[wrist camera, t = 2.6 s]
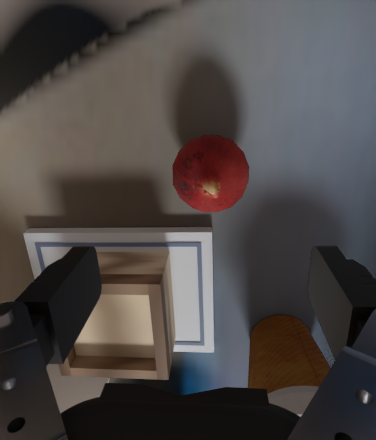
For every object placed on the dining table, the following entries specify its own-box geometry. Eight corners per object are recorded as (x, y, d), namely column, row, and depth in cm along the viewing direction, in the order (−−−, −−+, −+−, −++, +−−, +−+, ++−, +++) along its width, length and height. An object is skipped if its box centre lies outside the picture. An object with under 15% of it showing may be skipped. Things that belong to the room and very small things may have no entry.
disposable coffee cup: (279, 385, 38) (305, 510, 27) (216, 339, 36) (216, 452, 25) (346, 337, 34) (406, 457, 23) (280, 284, 33) (312, 386, 22)
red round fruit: (179, 195, 30) (166, 230, 23) (176, 130, 28) (161, 146, 21) (243, 195, 30) (252, 231, 22) (246, 128, 27) (256, 144, 20)
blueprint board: (212, 227, 31) (212, 232, 30) (214, 344, 36) (213, 353, 35) (29, 228, 33) (22, 233, 31) (56, 340, 38) (51, 348, 37)
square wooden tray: (169, 251, 31) (160, 284, 26) (175, 336, 35) (168, 379, 30) (67, 251, 32) (38, 283, 27) (83, 334, 36) (61, 375, 31)
